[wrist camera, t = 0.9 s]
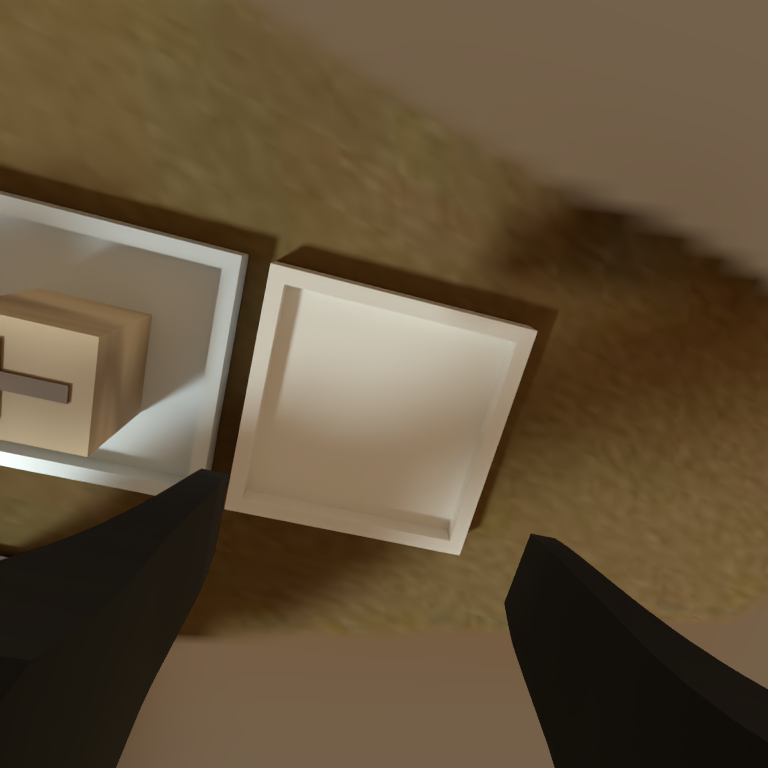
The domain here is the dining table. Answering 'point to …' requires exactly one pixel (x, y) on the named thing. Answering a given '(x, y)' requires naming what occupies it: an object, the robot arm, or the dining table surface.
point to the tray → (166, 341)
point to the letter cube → (69, 369)
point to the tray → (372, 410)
